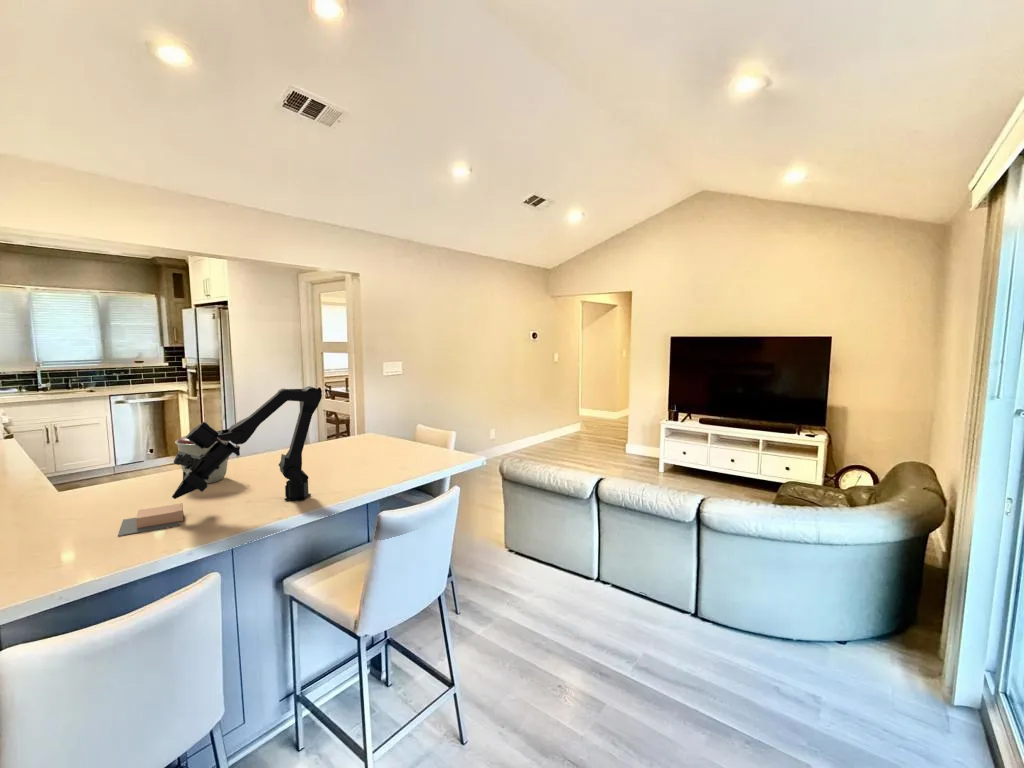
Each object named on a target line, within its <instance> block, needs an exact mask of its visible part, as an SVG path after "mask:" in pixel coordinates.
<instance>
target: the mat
mask: <svg viewBox="0 0 1024 768" xmlns="http://www.w3.org/2000/svg"><path fill="white" fill-rule="evenodd" d="M174 526H175V527H180V521H177V522H171V523H165V524H160V525H154V526H148V527H142V528H137V522H136V517H132V518H131V517H130V518H125V519H123V520H122V522H121V525H120V528H119V531H118V534H117V537H118V536H119V537H123V536H122V535H124V536H128V534H130V535H134V534H133V533H136V534H140V533H139V532H141V533H146V531H147V532H151V531H152V530H153V531H157V530H156V529H158V530H162V529H161V528H164V529H168V528H167V527H169V528H173V527H174ZM175 527H174V528H175Z"/></svg>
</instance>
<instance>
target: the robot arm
mask: <svg viewBox="0 0 1024 768" xmlns="http://www.w3.org/2000/svg"><path fill="white" fill-rule="evenodd" d="M322 396H323V395H322V392H321V391H320V389H318V388H316V387H313V386H306V387H304V388H280V389H279V390H278V391H277V392H276V393H274V395H273V396H271V397H270V398H269V399H267V401H265V402H264V403H263V404H262V405H260V406H259V408H257V409H256V410H255V411H254V412H252V413H251V414H250V415H249V416H247V417H246V418H243V419H241V420H239V421H238V422H236V423H234V424H233V425H231V426H230V427H229V428H226V429H221V430H215V428H213V427H212V426H210V425H209V424H208V422H206V421H202V422H201V423H200V424H198V425H197V426H196V427H194V428H193V429H192V430H190V432H188V434H187V435H185V436H186V439H188V440H189V441H191V442H192V443H194V444H195V445H197V446H198V447H200V448H201V449H203V448H209V447H210V446H212V445H213V444H214V443H215V441H217V442H216V443H215V444H214V445H213V446H212V447H211V448H210V449H209V450H208V451H207V452H206V453H205V454H204V453H203V454H201V455H200V456H195V455H192V454H188V453H185V452H181V451H178V452H177V453H176V455H175V458H174V460H173V464H174V465H177V466H181V465H183V466H184V468H185V469H189V471H188V472H187V473H185V472H183V471H182V480H181V483H179V485H178V486H177V488H176V490H175V491H174V493H173V494H172V496H171V498H172V499H174V500H176V499H179V498H180V497H183V496H185V495H187V494H189V493H191V492H193V491H196V490H198V491H200V492H201V493H202V492H204V491H205V490H206V489H207V488H208V484H207V480H208V479H209V476H210V475H211V474H212V473H213V472H214V471H215V470H216V469H217V470H218V469H219V468H220V465H221V464H222V463H223V462H224V461H225V460H226V459H227V458H228V459H229V457H230V456H231V455H232V454H235V455H236V456H240V455H241V454H240V451H241V450H240V449H241V445H244V444H245V443H246V442H248V440H249V439H250V438H251V436H252V435H253V434H254V433H255V432H256V430H257V428H258V427H259V426H260V425H261V424H262V423H263V422H265V421H266V419H268V418H269V417H270V416H272V414H274V413H275V412H276V411H277V410H279V408H281V407H282V406H283V405H284V404H286V403H287V402H299V412H298V416H297V420H296V424H295V428H294V430H293V435H292V438H291V441H290V445H289V449H288V451H287V452H286V454H283V453H282V454H281V457H280V462H279V463H278V467H279V471H280V473H281V474H282V475H283V477H284V478H285V479H287V481H286V484H285V486H284V491H285V492H284V494H285V495H284V496H285V498H284V501H285V500H300V501H299V502H302V501H301V500H303V501H305V500H306V499H308V498H309V497H310V496H311V494H312V493H309V475H308V474H307V473H305V471H304V470H303V468H302V467H303V450H304V447H305V444H306V439H307V435H308V434H309V433H308V432H309V429H310V425H311V421H312V418H313V414H314V413H315V412H316V410H317V408H318V406H319V404H320V403H321V400H322ZM217 437H219V438H220V439H221V440H223V441H227V442H225V443H224V442H223V441H221V440H220V439H218V438H217ZM228 441H229V442H228ZM233 444H234V445H233ZM235 445H237V446H235ZM309 495H310V496H309ZM308 496H309V497H308ZM305 498H306V499H305Z"/></svg>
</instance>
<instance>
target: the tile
mask: <svg viewBox="0 0 1024 768" xmlns="http://www.w3.org/2000/svg"><path fill="white" fill-rule="evenodd" d="M135 518H136V522H137V528H142V527H148V526H154V525H160V524H165V523H171V522H177V521H179V522H181V521H182V522H183V521H184V503H183V502H181V503H175V504H174V503H173V504H168V505H161V506H156V507H149V508H143V509H142V508H141V509H138V510H137V515H136V517H135Z"/></svg>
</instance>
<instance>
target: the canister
mask: <svg viewBox="0 0 1024 768" xmlns="http://www.w3.org/2000/svg"><path fill="white" fill-rule="evenodd" d="M186 436H187V435H183V436H181V437H180V438H178V439H176V440H175V441H174V443H175V445H177V450H178V451H181V452H185V453H188V454H192V455H195V456H200V455H201V454H203V453H204V454H205V453H206V452H207V451H208V450H209V449H210V448H211V447H212V446H213V445H214V444H215V443H216V442H217V441H215V443H214V444H213V445H212V446H210V447H209V448H203V449H201V448H200V447H198V446H197V445H195V444H194V443H192V442H191V441H189V440H188V439H186ZM217 438H218V439H220V438H219V437H217ZM220 440H221V439H220ZM221 441H223V440H221ZM223 442H224V443H225V442H227V441H223ZM228 442H230V441H228ZM228 462H229V457H228V458H227V459H226V460H225V461H224V462H223V463H222V464H221V465H220V468H219V469H218V470H217V469H216V470H215V471H214V472H213V473H212V474H211V475H210V476H209V479H208V480H207V485H208V484H213V483H216V482H218V481H221V480H223V479H224V478H225V476H226V474H227V470H228ZM180 467H181V470H182V471H181V472H182V473H183V472H185V473H187V472H188V471H189V469H185V468H184V466H183V465H180Z"/></svg>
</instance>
